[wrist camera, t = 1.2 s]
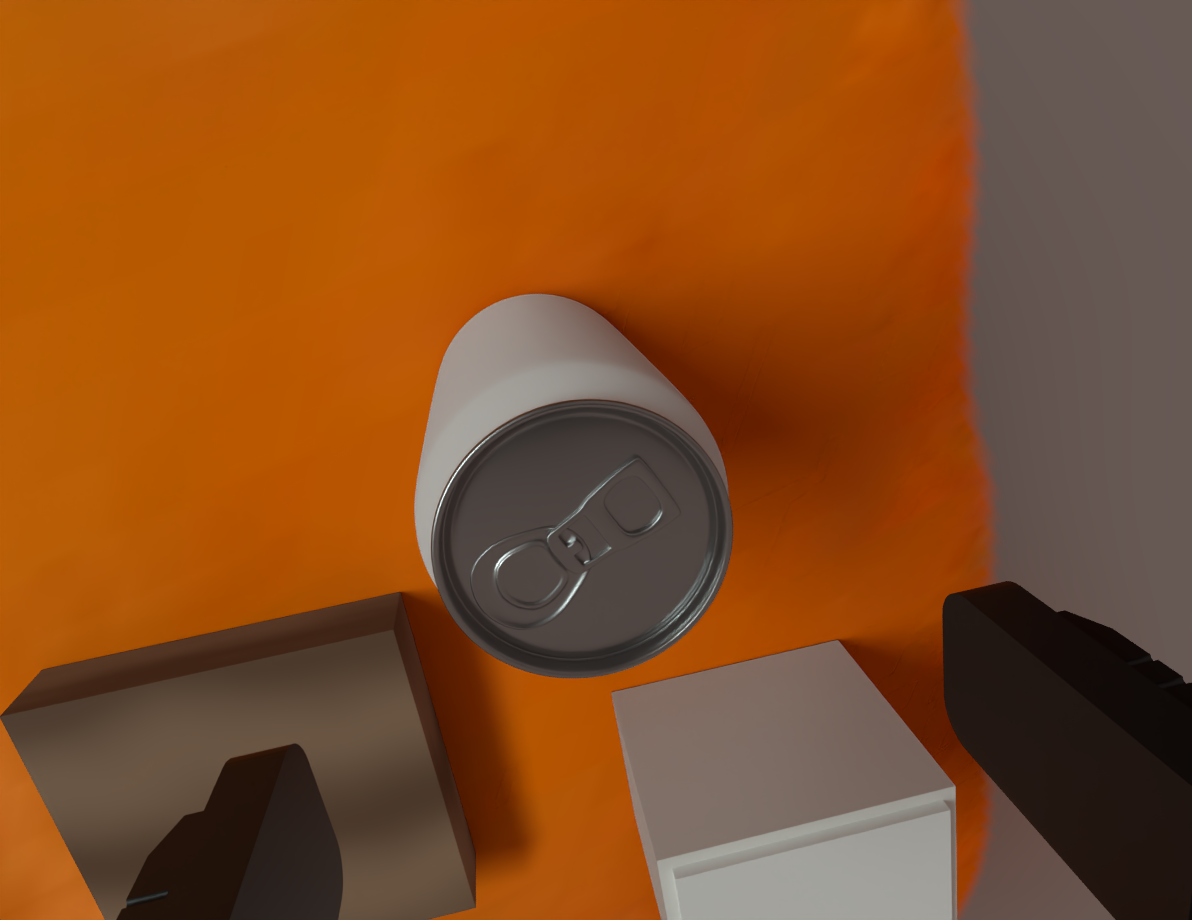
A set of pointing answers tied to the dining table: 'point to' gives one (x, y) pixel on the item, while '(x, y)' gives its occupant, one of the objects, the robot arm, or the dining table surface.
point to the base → (251, 724)
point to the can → (567, 493)
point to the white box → (787, 795)
